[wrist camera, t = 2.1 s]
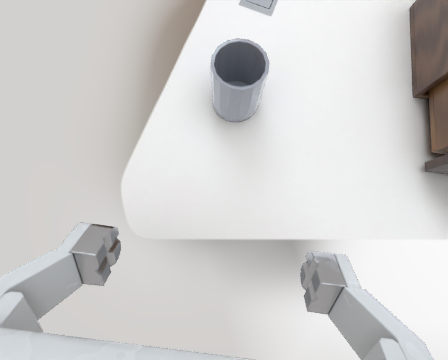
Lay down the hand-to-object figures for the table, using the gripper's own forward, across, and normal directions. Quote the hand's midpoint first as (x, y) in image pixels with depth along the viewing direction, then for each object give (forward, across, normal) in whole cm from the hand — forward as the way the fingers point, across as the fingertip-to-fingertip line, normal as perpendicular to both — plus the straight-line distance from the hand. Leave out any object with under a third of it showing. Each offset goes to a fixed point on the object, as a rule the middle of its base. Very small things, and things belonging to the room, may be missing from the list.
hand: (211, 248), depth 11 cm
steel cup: (+29, 0, +1) cm, 29 cm away
